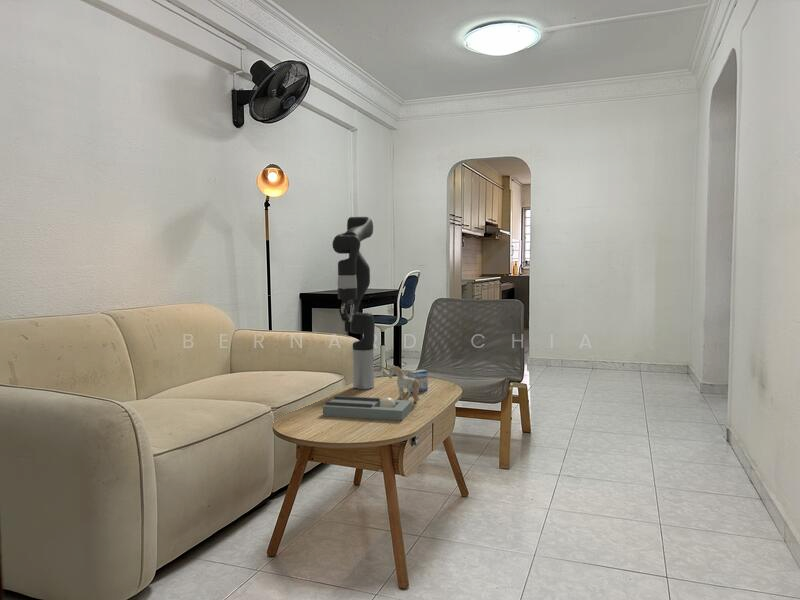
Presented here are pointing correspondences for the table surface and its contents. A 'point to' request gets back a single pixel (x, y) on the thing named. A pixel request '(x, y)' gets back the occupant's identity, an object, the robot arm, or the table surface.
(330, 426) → the table surface
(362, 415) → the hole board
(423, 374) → the medicine box
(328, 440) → the table surface
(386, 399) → the plastic ball
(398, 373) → the unicorn figurine
